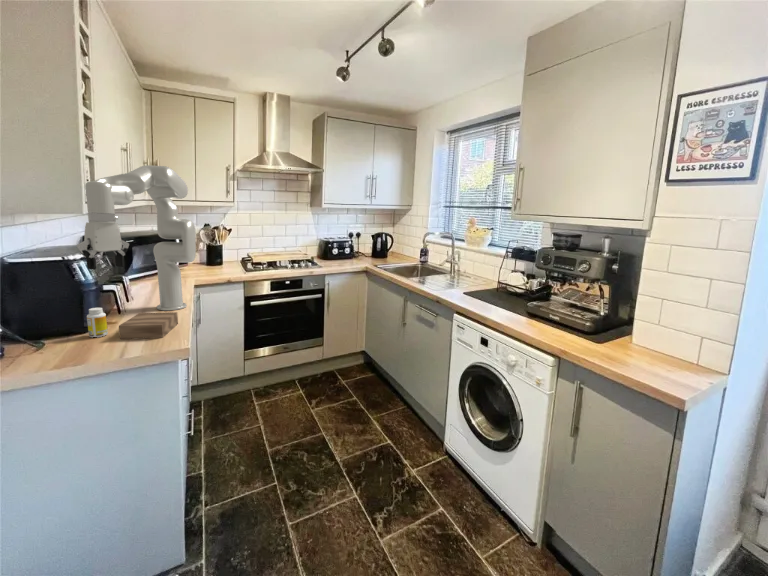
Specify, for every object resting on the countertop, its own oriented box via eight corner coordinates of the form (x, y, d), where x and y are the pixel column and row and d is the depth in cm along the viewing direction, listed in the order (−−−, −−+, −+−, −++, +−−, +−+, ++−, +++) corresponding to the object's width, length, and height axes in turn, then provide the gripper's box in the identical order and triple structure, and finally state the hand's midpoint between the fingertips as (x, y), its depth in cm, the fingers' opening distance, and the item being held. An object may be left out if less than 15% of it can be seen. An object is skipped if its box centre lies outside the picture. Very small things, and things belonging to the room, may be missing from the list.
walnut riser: (140, 324, 152) (139, 313, 151) (178, 323, 155) (177, 312, 154) (120, 339, 134) (118, 325, 133) (162, 337, 137) (161, 324, 136)
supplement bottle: (111, 333, 140) (108, 306, 138) (102, 337, 135) (99, 310, 133) (94, 333, 139) (91, 307, 137) (85, 338, 134) (82, 310, 132)
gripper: (118, 219, 138) (122, 265, 141) (66, 217, 122) (72, 269, 125) (133, 219, 136) (137, 266, 139) (82, 218, 120) (88, 271, 122)
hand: (106, 267), depth 132 cm, fingers open, 9 cm apart
